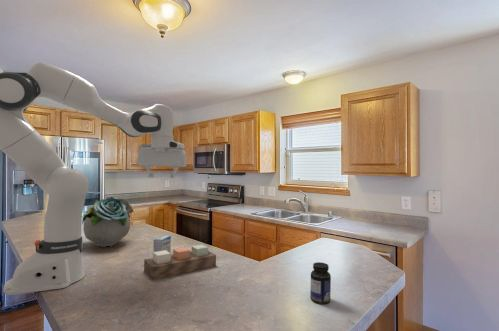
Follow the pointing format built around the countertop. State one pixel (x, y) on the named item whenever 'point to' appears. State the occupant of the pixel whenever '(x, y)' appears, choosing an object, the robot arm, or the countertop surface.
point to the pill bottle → (320, 283)
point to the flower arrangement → (107, 221)
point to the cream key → (161, 257)
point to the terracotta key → (181, 253)
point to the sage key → (199, 250)
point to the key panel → (178, 265)
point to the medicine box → (162, 243)
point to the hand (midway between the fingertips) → (161, 177)
